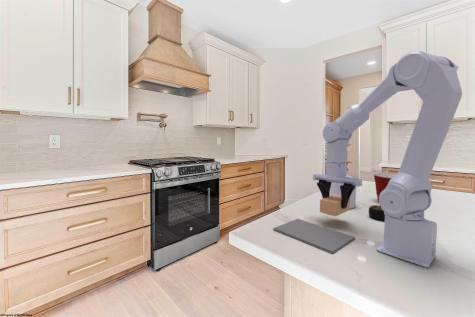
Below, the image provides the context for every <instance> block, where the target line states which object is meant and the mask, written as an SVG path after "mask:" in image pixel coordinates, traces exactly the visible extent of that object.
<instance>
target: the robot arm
mask: <svg viewBox="0 0 475 317" xmlns="http://www.w3.org/2000/svg"><path fill="white" fill-rule="evenodd" d="M458 70H459V66H458V65H457V64H456V63H454V62H453V60H451V59H449V58H448V57H446V56H442V55H441V56H440V55H439V56H438V55H436V54H431V53H427V52H425V51H423V50H417V49H415V50H412V51H408V52H407V53H405V54H403V55H402V56H401V57H400V58H399V60H398V61H397V63H396V62H395V63H394V64H393V65H391V66H390V68H389V70H388V73H387V75H386V77H385V76H384V78H383V79H382V80H381V81H380V82H379V83H378V84H377V86H375V87H374V89H373V90H372V91H371V92H369V94H368V95H367V96H366V97H365V98H364V99H363V100H362V101H361V102H360V104H358V103H357V104H351V105H349V106H348V107H347V108H346V111H345V112H344V113H343V114H341V115H340V116H339V117H337V118H336V119H335V120H334V121H332V122H327V123H325V125H324V127H323V130H322V137H323V139H324V141H326V158H325V159H326V160H325V161H326V164H325V165H326V166H325V173H323V174H321V173H314V174H312V180H313V181H317V182H316V186H317V187H318V189H319V192H320V194H321V198H322V199H323V198H326V197H330V189H331V183H332V182H333V183H340V184H344V185H341V186H340V190H341V208H343V209H344V208H347V204H348V201H349V198H350V196H351V194H352V192H353V190H354V189H355V187H356V188H357V187H358V188H359V187H362V186H363V179H362V178H355V177H352V176H351V177H352V178H351V177H346V169H347V165H346V164H347V161H348V159H347V158H348V157H347V156H348V147H349V146H348V144H350V143H349V142H350V140H351V138H352V136H353V133H354V132H355V131H356V130H357V129H359V128H360V127H362V125H364V124H365V123H366V122H367V121H369V119H370V116H371V115H370V113H371V112H372V111H374V110H376V109H377V108H378V107H380V106H381V105H382V104H384V103H385V102H386V101H388V100H389V99H390V98H391V97H393V96H394V95H396V94H397V93H399V92H404V91H412V90H413V91H414V92H415V94H416V95H417V96H418V97H419V99H421V100H422V105H421V107H420V110H419V113H418V115H417V119H416V121H415V124H414V127H413V130H412V133H411V136H410V139H409V141H408V145H407V148H406V150H405V152H404V153H405V154H404V155H403V158H402V162H401V164H400V167H399V170H398V172H397V173H396V174H394V175H395V176H394V177H393V178H392V179H391V180H390V181H389V182H388V185H387V187H386V188H385V189H384V190H383V191H382V192H381V193H380V195H379V202H378V204H379V206H381V208H382V210H383V211H384V214H385V220H384V226H383V227H384V228H383V230H384V231H383V243H381V244H380V245H379V246H378V247H377V248H376V251H377V252H379V253H382V254H386V255H388V256H391V257H394V258H397V259H401V260H403V261H406V262H409V263H412V264H416V265H418V266H421V267H424V268H429V267H430V266H431V264H432V263H433V261H434V259H435V257H436V255H437V254H436V252H437V249H436V247H437V232H438V224H437V222H435V221H433V220H429V219H426V218H425V211H427V210H428V209H429V208H430V207H431V204H432V202H433V201H432V189H433V187H434V185H433V184H432V182H431V181H430V177H431V175H432V172H433V169H434V167H435V165H436V164H435V163H436V162H437V159H438V158H439V154H440V153H441V149H442V147H443V144H444V143H445V140H446V137H447V134H448V132H449V129H450V127H451V124H452V122H453V119H454V117H455V115H456V111H457V110H458V107H459V105H460V102H461V99H462V97H463V90H462V87H461V86H462V85H461V83H460V80H459V76H458ZM340 181H341V182H340Z"/></svg>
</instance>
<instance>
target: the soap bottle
mask: <svg viewBox="0 0 475 317" xmlns="http://www.w3.org/2000/svg"><path fill="white" fill-rule="evenodd" d="M349 146H350V147H351V143H348V147H349ZM349 164H352V161H351V160H347V164H346V166H348V165H349ZM346 177H351V178H353V177H352V176H351V175H349V168H346ZM340 182H341V181H340ZM341 185H344V184H340V183H333V182H332V183H331V188H330V196H333V195H338V196H341V190H340V186H341ZM356 194H357V186H356V187H355V189H354V190H353V192H352V194H351V196H350V209H349V210H351V209H354V208H355V207H356V197H357V195H356Z"/></svg>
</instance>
